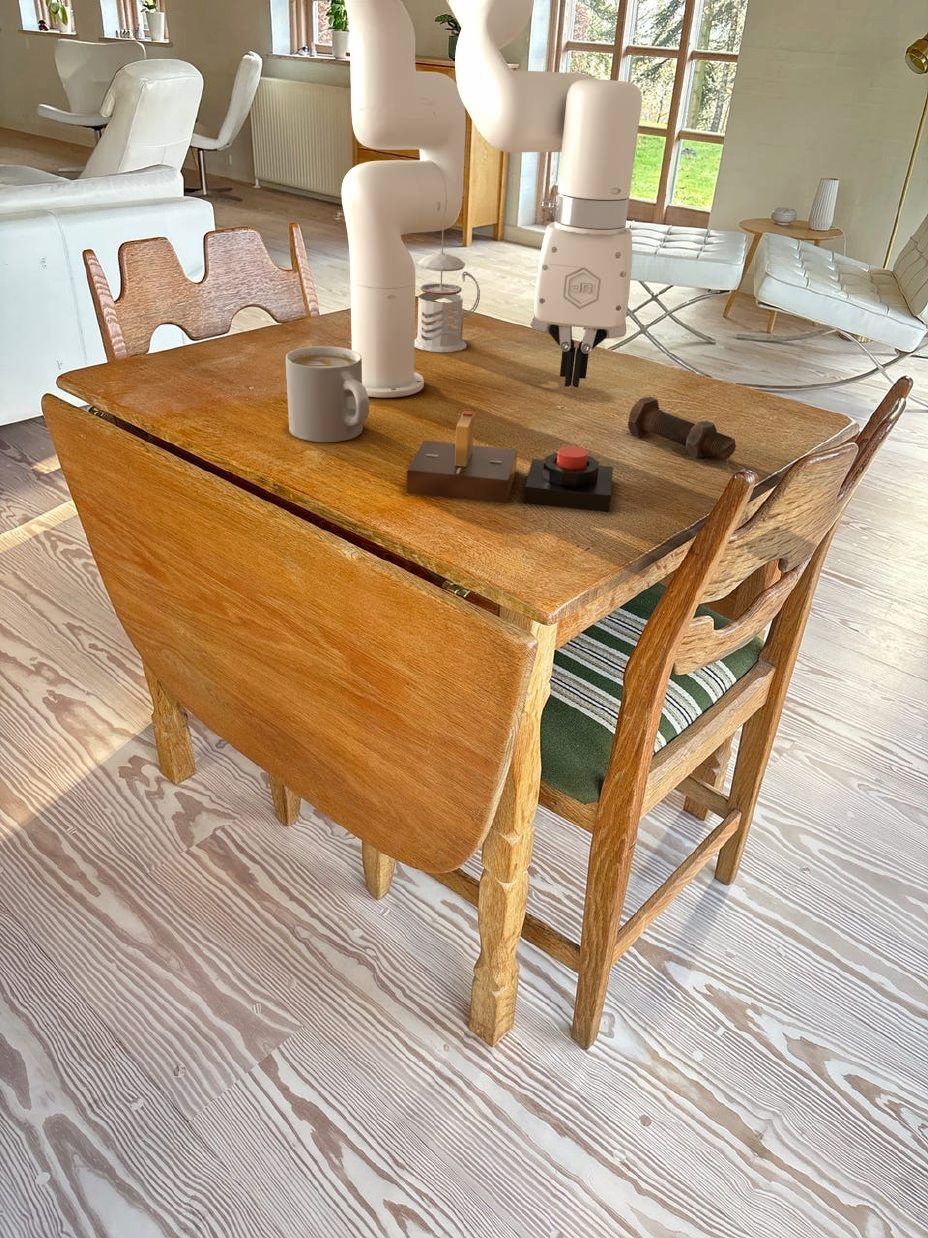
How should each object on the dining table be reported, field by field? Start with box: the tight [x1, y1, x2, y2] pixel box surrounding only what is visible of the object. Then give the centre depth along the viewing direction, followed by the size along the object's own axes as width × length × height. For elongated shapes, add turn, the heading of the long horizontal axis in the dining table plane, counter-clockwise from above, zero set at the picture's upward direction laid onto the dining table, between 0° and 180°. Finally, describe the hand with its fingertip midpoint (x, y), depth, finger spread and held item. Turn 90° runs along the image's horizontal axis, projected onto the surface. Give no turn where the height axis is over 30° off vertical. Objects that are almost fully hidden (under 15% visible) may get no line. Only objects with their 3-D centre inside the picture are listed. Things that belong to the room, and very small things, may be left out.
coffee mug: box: [285, 345, 370, 443], centre depth 127 cm, size 13×10×10 cm
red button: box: [556, 445, 589, 469], centre depth 114 cm, size 4×4×2 cm
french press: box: [415, 230, 481, 353], centre depth 163 cm, size 10×12×25 cm
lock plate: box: [406, 440, 518, 504], centre depth 117 cm, size 12×10×3 cm
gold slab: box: [455, 410, 475, 467], centre depth 114 cm, size 5×1×5 cm, turn 171°
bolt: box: [627, 396, 737, 462], centre depth 129 cm, size 6×5×15 cm
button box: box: [523, 452, 614, 513], centre depth 115 cm, size 10×9×4 cm
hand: (572, 383), depth 111 cm, fingers closed
